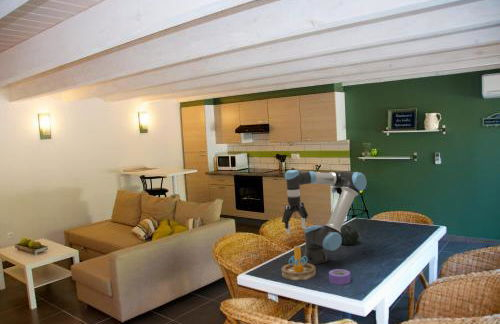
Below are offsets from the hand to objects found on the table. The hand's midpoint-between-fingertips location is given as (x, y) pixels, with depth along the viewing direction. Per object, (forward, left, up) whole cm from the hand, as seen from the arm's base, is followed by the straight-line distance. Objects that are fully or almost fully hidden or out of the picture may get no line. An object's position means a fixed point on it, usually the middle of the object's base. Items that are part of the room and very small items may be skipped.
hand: (296, 231), depth 250 cm
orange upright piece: (0, 0, -25) cm, 25 cm away
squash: (-49, -52, -27) cm, 76 cm away
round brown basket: (0, 0, -26) cm, 27 cm away
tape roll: (-20, +17, -27) cm, 38 cm away
